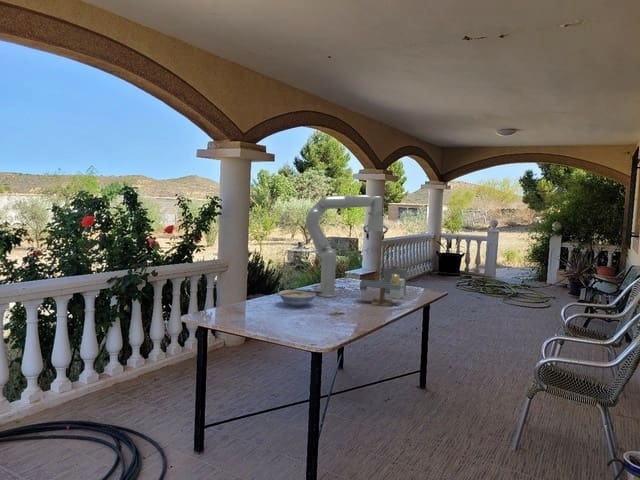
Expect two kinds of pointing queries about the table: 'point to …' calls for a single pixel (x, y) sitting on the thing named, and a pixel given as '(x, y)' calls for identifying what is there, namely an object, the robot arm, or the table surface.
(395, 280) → the brass weight
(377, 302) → the pivot stand
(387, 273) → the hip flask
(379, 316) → the table surface
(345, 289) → the table surface
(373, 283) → the balance beam
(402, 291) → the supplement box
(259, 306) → the table surface
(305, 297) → the ramen bowl
